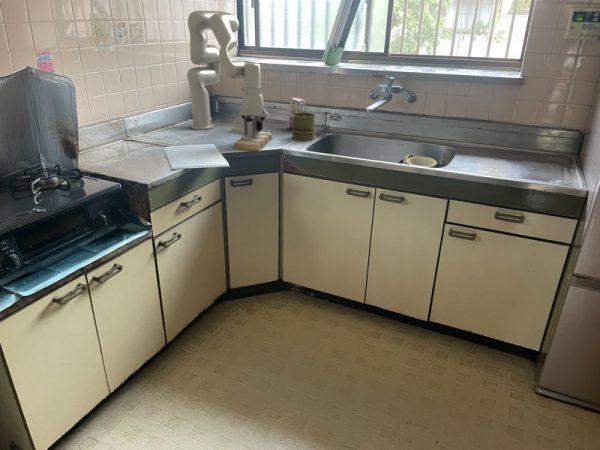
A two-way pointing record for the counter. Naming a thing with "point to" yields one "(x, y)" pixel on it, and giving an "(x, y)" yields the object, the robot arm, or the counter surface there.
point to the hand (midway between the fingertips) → (253, 129)
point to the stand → (253, 141)
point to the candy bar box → (296, 108)
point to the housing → (251, 126)
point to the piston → (303, 127)
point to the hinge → (238, 125)
